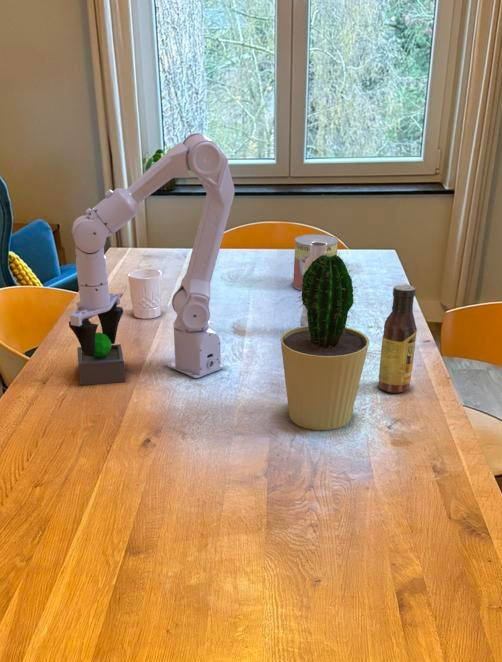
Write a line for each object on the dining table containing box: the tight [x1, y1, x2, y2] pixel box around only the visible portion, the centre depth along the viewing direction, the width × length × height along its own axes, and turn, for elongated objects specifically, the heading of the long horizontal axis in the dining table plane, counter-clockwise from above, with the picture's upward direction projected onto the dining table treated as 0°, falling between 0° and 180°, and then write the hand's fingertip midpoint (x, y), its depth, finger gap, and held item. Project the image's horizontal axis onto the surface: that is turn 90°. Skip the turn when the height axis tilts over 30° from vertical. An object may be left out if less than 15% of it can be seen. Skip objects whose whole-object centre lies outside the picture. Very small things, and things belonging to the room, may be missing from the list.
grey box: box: [76, 343, 127, 386], centre depth 162 cm, size 9×9×5 cm
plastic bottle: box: [299, 242, 327, 327], centre depth 177 cm, size 6×7×20 cm
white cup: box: [127, 268, 163, 320], centre depth 191 cm, size 8×8×10 cm
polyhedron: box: [94, 331, 113, 358], centre depth 160 cm, size 5×5×5 cm
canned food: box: [292, 233, 340, 291], centre depth 209 cm, size 11×11×12 cm
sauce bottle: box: [378, 284, 418, 394], centre depth 151 cm, size 6×6×20 cm
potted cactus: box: [280, 251, 370, 431], centre depth 138 cm, size 15×15×30 cm
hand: (99, 349), depth 160 cm, fingers open, 7 cm apart
